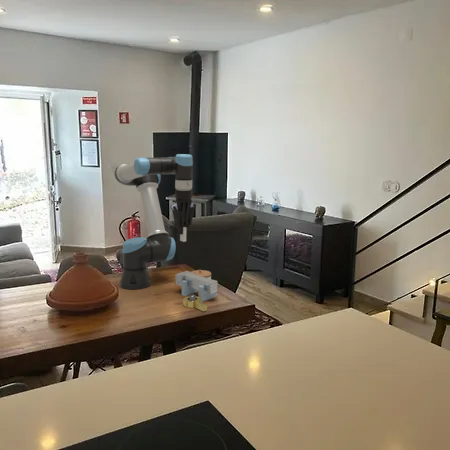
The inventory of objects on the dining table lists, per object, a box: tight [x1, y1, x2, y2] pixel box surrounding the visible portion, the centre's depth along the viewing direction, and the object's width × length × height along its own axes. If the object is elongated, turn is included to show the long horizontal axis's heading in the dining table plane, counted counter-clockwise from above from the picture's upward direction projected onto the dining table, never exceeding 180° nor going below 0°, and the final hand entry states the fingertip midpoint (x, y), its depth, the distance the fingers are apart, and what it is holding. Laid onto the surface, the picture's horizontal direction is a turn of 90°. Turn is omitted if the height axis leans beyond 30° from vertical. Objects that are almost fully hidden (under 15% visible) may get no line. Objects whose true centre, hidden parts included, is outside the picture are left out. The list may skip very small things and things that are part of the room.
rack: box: [181, 280, 217, 303], centre depth 202 cm, size 15×10×8 cm, turn 48°
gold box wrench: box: [182, 295, 208, 312], centre depth 189 cm, size 13×8×3 cm, turn 37°
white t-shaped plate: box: [175, 270, 218, 294], centre depth 202 cm, size 21×7×5 cm, turn 48°
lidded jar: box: [191, 269, 212, 279], centre depth 216 cm, size 11×11×9 cm
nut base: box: [188, 293, 197, 301], centre depth 191 cm, size 9×9×6 cm
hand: (183, 240), depth 200 cm, fingers closed
